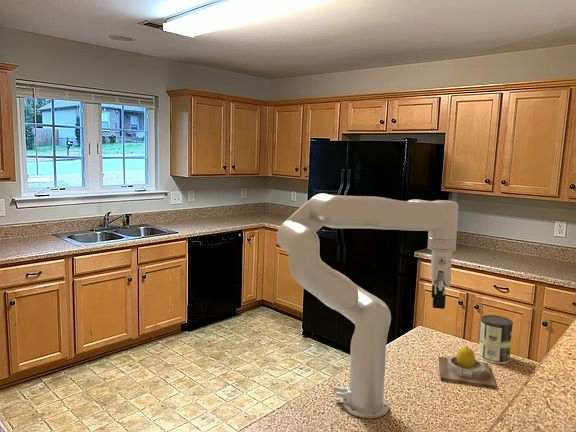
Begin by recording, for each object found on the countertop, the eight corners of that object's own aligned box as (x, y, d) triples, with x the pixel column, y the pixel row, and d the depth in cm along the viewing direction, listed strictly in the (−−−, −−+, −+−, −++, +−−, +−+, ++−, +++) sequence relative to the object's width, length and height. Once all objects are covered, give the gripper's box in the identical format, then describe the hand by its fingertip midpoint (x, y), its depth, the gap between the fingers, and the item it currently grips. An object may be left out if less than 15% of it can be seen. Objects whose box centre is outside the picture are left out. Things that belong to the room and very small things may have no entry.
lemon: (475, 374, 142) (476, 350, 142) (456, 372, 144) (458, 348, 143) (472, 367, 148) (474, 344, 147) (455, 365, 149) (456, 342, 148)
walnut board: (440, 380, 140) (440, 377, 140) (438, 359, 156) (438, 356, 156) (495, 388, 136) (495, 385, 136) (487, 366, 151) (488, 363, 151)
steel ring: (448, 375, 142) (449, 367, 142) (446, 360, 153) (447, 353, 152) (485, 380, 139) (486, 372, 139) (481, 365, 150) (481, 358, 149)
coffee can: (504, 353, 162) (507, 315, 161) (513, 365, 152) (517, 326, 151) (474, 350, 164) (477, 313, 162) (482, 362, 154) (485, 323, 152)
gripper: (458, 250, 116) (454, 314, 118) (453, 240, 133) (449, 295, 135) (428, 248, 118) (424, 310, 120) (427, 238, 135) (423, 293, 137)
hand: (437, 302), depth 127 cm, fingers open, 9 cm apart
